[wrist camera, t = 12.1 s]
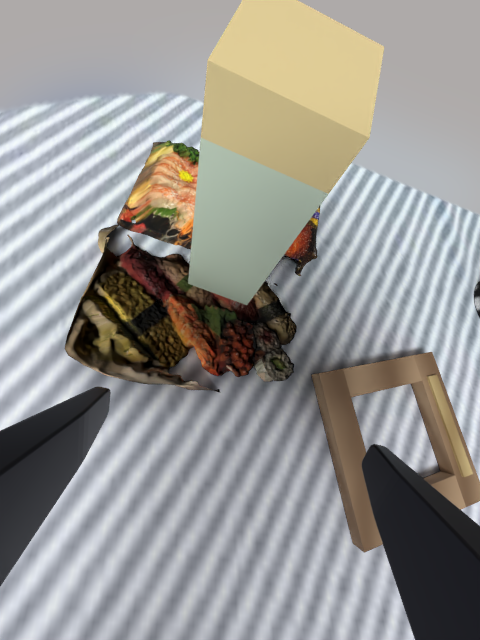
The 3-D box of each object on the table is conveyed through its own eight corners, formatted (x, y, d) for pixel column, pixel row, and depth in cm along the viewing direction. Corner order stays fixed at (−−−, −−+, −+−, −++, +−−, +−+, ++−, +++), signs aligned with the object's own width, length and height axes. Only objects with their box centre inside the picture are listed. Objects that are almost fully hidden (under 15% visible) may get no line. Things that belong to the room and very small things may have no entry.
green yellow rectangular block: (247, 305, 19) (369, 137, 7) (187, 283, 18) (207, 60, 6) (262, 255, 21) (384, 46, 8) (208, 233, 20) (255, -23, 8)
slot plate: (352, 543, 19) (366, 554, 17) (311, 374, 22) (320, 373, 20) (469, 493, 22) (488, 499, 21) (420, 353, 25) (434, 351, 24)
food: (287, 419, 21) (309, 422, 17) (35, 360, 18) (4, 350, 14) (317, 206, 28) (336, 180, 25) (143, 141, 25) (139, 101, 22)
